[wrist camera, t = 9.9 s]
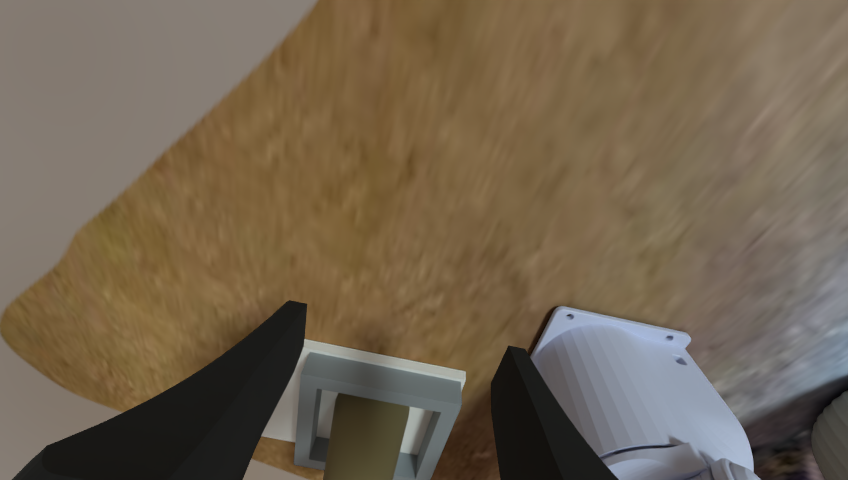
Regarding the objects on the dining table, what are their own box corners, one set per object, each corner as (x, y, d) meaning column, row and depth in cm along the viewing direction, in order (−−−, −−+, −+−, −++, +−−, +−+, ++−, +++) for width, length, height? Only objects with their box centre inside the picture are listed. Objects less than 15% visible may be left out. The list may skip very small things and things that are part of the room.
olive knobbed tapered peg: (387, 439, 32) (360, 614, 22) (323, 412, 31) (266, 586, 21) (424, 402, 29) (412, 582, 20) (355, 370, 28) (306, 548, 18)
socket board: (465, 371, 28) (467, 403, 26) (430, 458, 34) (429, 491, 32) (256, 329, 27) (237, 358, 25) (257, 426, 33) (242, 457, 31)
